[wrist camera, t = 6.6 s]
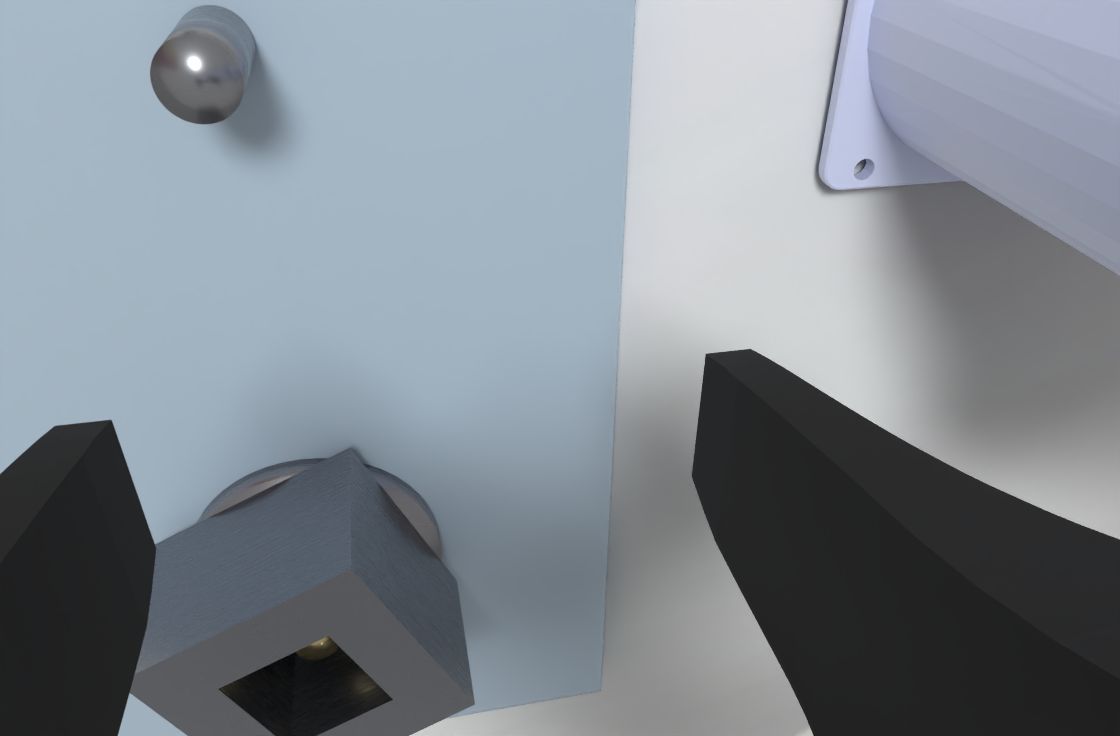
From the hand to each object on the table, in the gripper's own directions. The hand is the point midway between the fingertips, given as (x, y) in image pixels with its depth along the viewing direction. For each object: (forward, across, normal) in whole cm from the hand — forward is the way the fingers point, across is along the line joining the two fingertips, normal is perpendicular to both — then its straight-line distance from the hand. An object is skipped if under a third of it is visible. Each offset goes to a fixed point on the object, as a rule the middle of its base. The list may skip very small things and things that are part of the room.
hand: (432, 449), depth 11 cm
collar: (+8, +3, +10) cm, 13 cm away
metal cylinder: (+9, +3, -3) cm, 10 cm away
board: (+10, +3, +5) cm, 11 cm away
